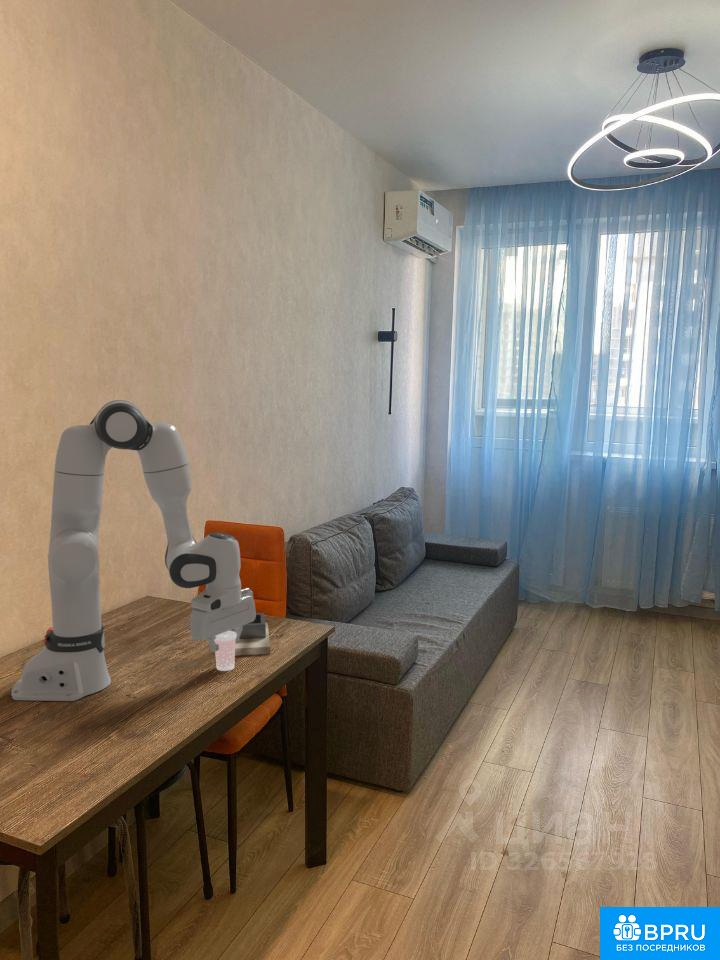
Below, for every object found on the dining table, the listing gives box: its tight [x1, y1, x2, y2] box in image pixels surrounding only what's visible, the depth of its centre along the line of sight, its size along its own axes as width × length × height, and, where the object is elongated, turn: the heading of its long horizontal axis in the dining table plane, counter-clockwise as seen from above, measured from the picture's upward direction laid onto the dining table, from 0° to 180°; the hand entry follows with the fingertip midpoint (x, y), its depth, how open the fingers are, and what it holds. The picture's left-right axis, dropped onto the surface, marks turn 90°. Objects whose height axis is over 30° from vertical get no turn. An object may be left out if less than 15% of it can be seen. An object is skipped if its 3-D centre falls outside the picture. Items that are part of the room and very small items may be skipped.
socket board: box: [229, 622, 272, 657], centre depth 214 cm, size 12×20×2 cm, turn 9°
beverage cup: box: [214, 631, 237, 672], centre depth 194 cm, size 6×6×14 cm
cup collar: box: [230, 612, 266, 639], centre depth 215 cm, size 10×10×4 cm
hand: (224, 646), depth 195 cm, fingers closed on beverage cup, 6 cm apart
